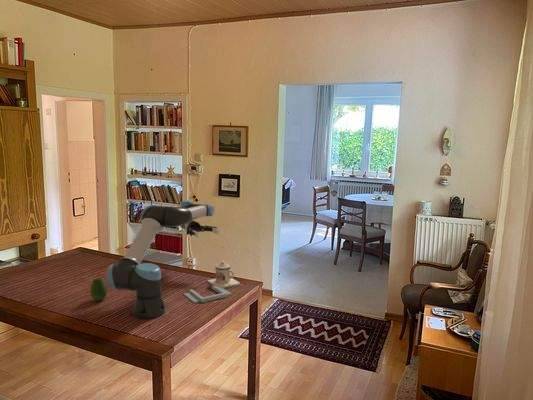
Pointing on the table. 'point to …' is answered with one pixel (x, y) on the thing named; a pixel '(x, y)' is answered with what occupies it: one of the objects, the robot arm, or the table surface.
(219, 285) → the mat
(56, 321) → the table surface
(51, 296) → the table surface
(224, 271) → the teacup with lid
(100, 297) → the avocado
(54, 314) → the table surface
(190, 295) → the cradle
